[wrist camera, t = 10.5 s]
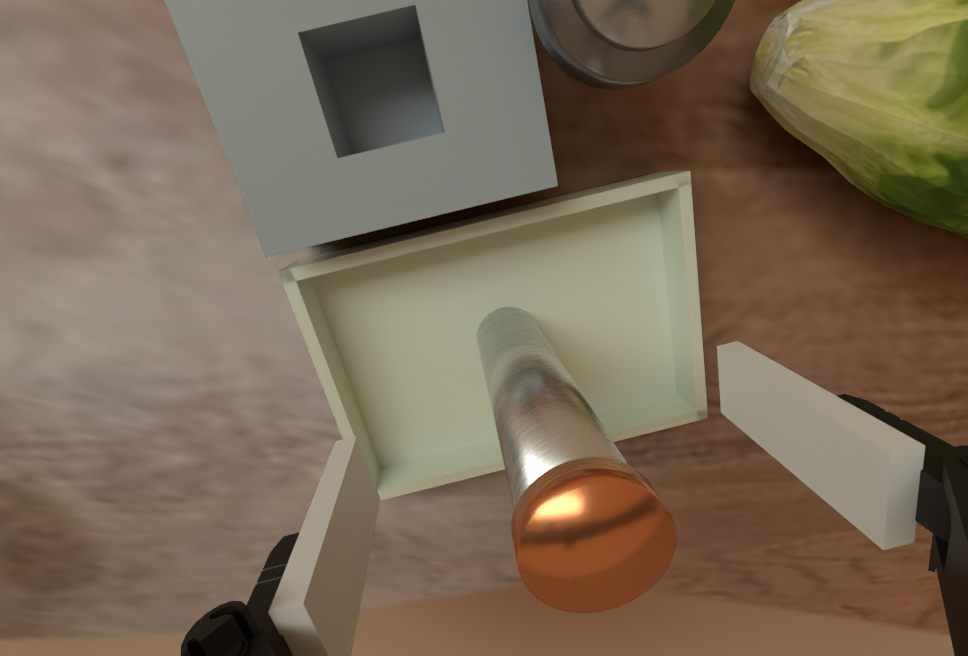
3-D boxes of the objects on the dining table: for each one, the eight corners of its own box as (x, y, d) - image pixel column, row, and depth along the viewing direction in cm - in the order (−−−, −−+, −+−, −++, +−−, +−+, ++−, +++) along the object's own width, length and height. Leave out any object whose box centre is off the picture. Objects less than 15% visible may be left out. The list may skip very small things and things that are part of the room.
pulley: (519, 125, 22) (563, 97, 14) (490, -30, 20) (523, -165, 12) (646, 94, 22) (761, 49, 14) (631, -64, 20) (756, -220, 12)
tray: (374, 472, 27) (367, 503, 25) (296, 260, 23) (277, 271, 20) (682, 395, 28) (708, 418, 25) (662, 171, 23) (690, 170, 21)
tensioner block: (301, 240, 23) (265, 257, 18) (219, 11, 20) (149, -41, 15) (533, 183, 23) (558, 186, 18) (490, -53, 20) (506, -125, 15)
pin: (481, 376, 25) (534, 628, 11) (465, 312, 24) (502, 507, 10) (547, 359, 26) (682, 590, 11) (535, 296, 24) (669, 465, 10)
